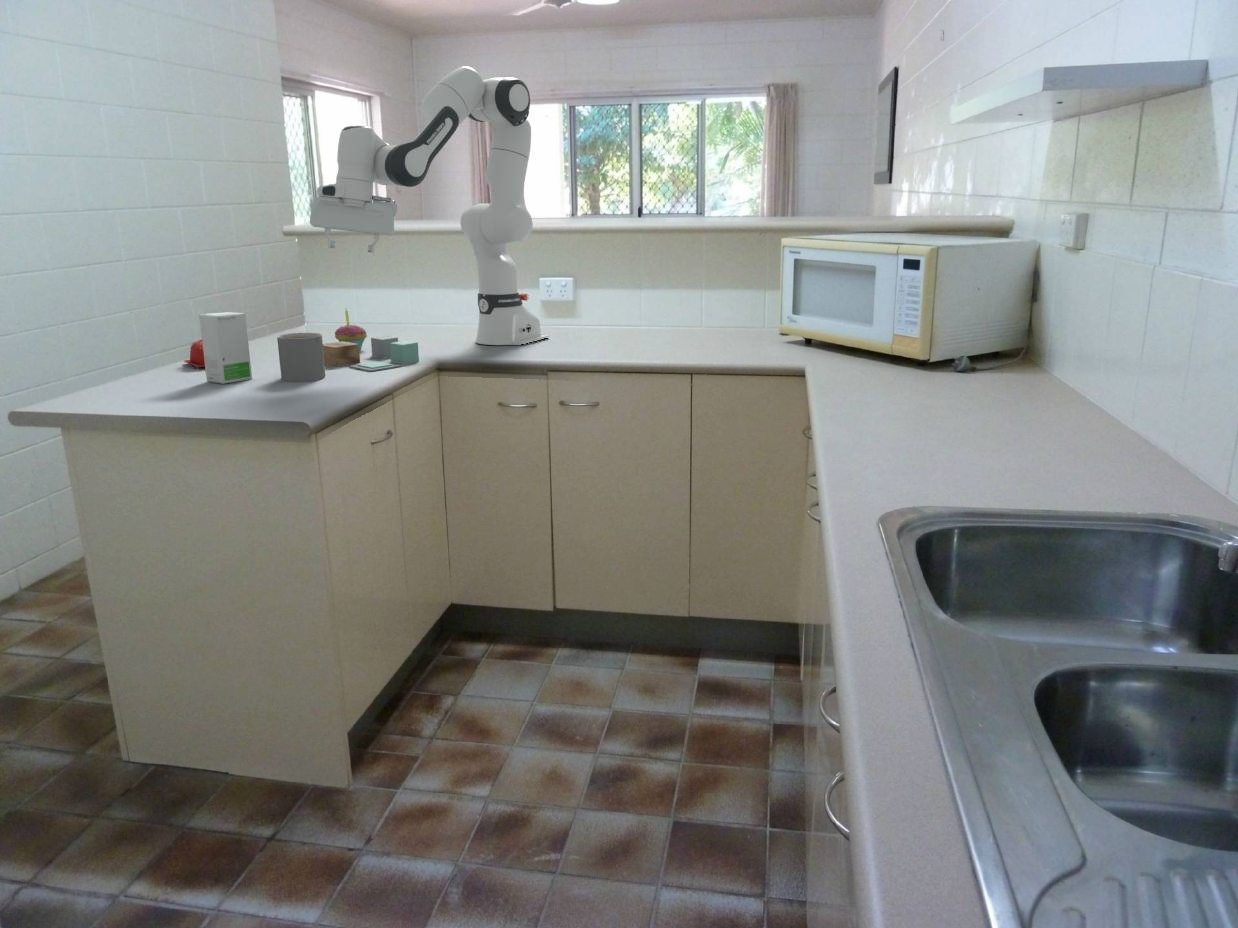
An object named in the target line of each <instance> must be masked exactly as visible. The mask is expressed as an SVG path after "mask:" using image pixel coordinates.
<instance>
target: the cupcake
mask: <svg viewBox="0 0 1238 928" xmlns="http://www.w3.org/2000/svg"><path fill="white" fill-rule="evenodd" d="M344 312H345V320H346V325H343V326H340V327H339V328H337V329H336V330H335V331H334V338H335V339H336V340H337V341H338V342H342V341H344V342H349V343H355V344H359V352H361V351H362V347H363V344H364V341H365V339H366V338H367V331H366V330H365V329H364V328H363V327H360V326H358V325H355V324H350V318H349V311H348V310H347V308H345V311H344Z"/></svg>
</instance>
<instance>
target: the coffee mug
mask: <svg viewBox="0 0 1238 928" xmlns="http://www.w3.org/2000/svg"><path fill="white" fill-rule="evenodd" d="M323 342H324V341H323V335H322V333H318V332H292V333H291V332H290V333H283V334H279V335H277V346H278V347H277V349H278V350H277V351H278V358H279V368H280V376H281V380H282V381H284V382H294V383H303V382H313V381H312V380H314V381H318V379H320V380H322V379H321V378H323V379H325V378H326V377H325V376H326V366H325V365H326V364H324V353H323V344H324V343H323Z"/></svg>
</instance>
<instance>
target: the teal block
mask: <svg viewBox="0 0 1238 928" xmlns="http://www.w3.org/2000/svg"><path fill="white" fill-rule="evenodd" d="M390 350H391V357H390V363H394V364H399V365H406V364H407V365H408V364H411V363H419V361H420V357H419V353H420V352H419V342H416V341H411V340H401V341H398V342H393V343H390Z"/></svg>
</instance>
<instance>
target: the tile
mask: <svg viewBox="0 0 1238 928" xmlns="http://www.w3.org/2000/svg"><path fill="white" fill-rule="evenodd" d="M401 367H402V364H398V363H392V362H385V361H380V360H379V361H373V362H366V363H358V364H352V365H348V368H350V369H354V370H360V371H364V372H369V373H373V372H379V371H385V370H389V369H396V368H401Z"/></svg>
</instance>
